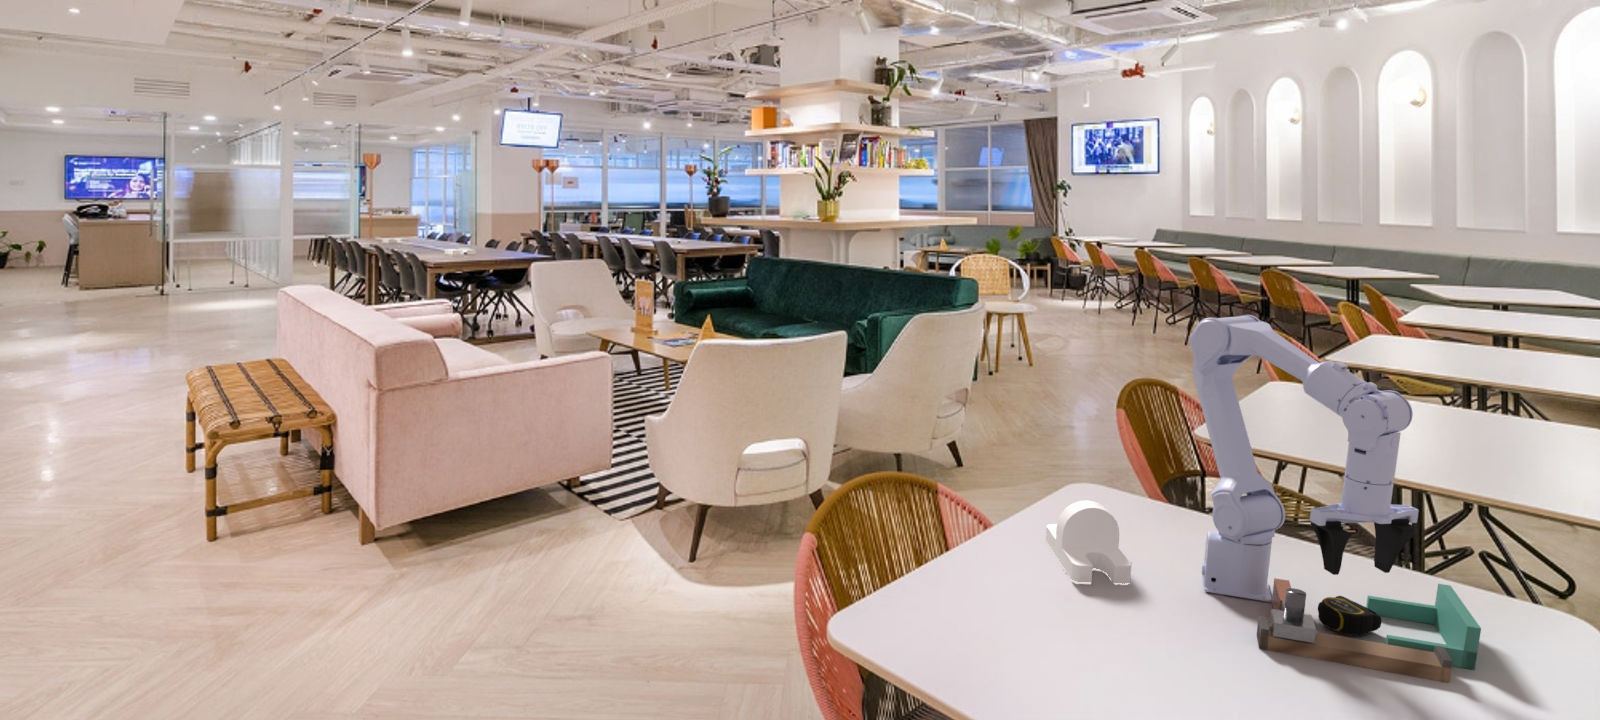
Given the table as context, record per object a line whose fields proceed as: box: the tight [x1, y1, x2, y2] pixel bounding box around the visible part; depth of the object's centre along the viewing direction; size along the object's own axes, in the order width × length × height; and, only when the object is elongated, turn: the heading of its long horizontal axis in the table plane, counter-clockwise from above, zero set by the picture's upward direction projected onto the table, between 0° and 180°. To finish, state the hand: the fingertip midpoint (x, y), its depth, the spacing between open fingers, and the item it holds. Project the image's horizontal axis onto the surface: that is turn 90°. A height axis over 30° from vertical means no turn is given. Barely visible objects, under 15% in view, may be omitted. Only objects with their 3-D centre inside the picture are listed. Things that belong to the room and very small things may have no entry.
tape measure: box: [1317, 595, 1383, 636], centre depth 127 cm, size 7×7×4 cm
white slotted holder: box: [1045, 499, 1132, 584], centre depth 149 cm, size 10×18×11 cm, turn 179°
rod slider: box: [1269, 577, 1317, 643], centre depth 126 cm, size 5×16×8 cm, turn 157°
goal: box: [1365, 583, 1482, 671], centre depth 123 cm, size 10×14×6 cm
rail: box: [1256, 615, 1453, 683], centre depth 118 cm, size 22×4×3 cm, turn 67°
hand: (1356, 570), depth 122 cm, fingers open, 7 cm apart
